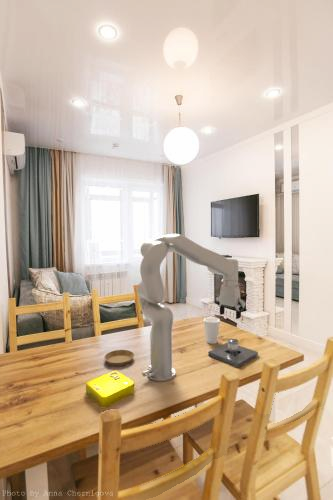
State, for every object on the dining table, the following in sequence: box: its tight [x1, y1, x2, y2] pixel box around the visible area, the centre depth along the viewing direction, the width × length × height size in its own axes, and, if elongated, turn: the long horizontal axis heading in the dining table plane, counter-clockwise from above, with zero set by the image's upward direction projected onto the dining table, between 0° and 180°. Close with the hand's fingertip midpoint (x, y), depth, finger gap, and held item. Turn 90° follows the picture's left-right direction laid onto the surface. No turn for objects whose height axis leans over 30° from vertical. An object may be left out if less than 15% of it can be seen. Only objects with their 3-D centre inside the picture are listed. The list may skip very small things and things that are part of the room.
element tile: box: [85, 370, 135, 409], centre depth 106 cm, size 15×15×5 cm
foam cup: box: [203, 316, 221, 345], centre depth 155 cm, size 10×9×13 cm
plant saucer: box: [104, 349, 135, 367], centre depth 133 cm, size 15×15×3 cm
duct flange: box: [207, 341, 259, 368], centre depth 137 cm, size 18×18×2 cm
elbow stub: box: [227, 338, 239, 356], centre depth 136 cm, size 5×5×8 cm
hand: (230, 316), depth 136 cm, fingers open, 9 cm apart
